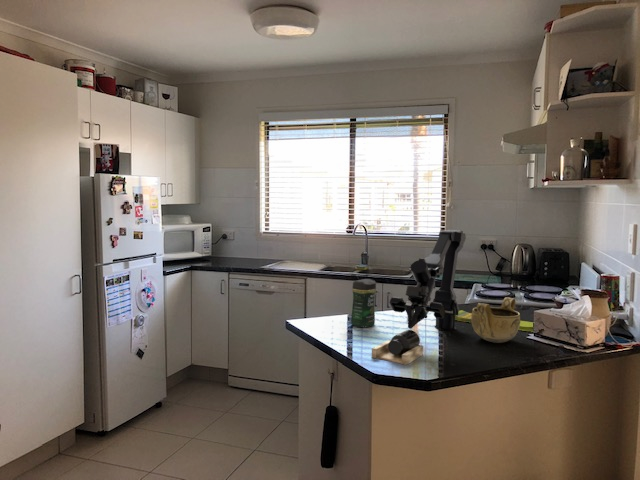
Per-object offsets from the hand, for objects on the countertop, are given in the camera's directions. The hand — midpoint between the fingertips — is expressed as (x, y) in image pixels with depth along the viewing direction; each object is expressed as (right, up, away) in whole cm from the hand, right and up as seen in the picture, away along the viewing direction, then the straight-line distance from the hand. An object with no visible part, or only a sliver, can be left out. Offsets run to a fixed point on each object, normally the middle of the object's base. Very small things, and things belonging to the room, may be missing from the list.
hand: (409, 327), depth 175 cm
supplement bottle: (+1, -4, -1) cm, 4 cm away
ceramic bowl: (+33, -7, +14) cm, 37 cm away
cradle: (-5, -8, -6) cm, 12 cm away
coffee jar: (-13, -5, +33) cm, 36 cm away
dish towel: (+43, -6, +41) cm, 60 cm away
